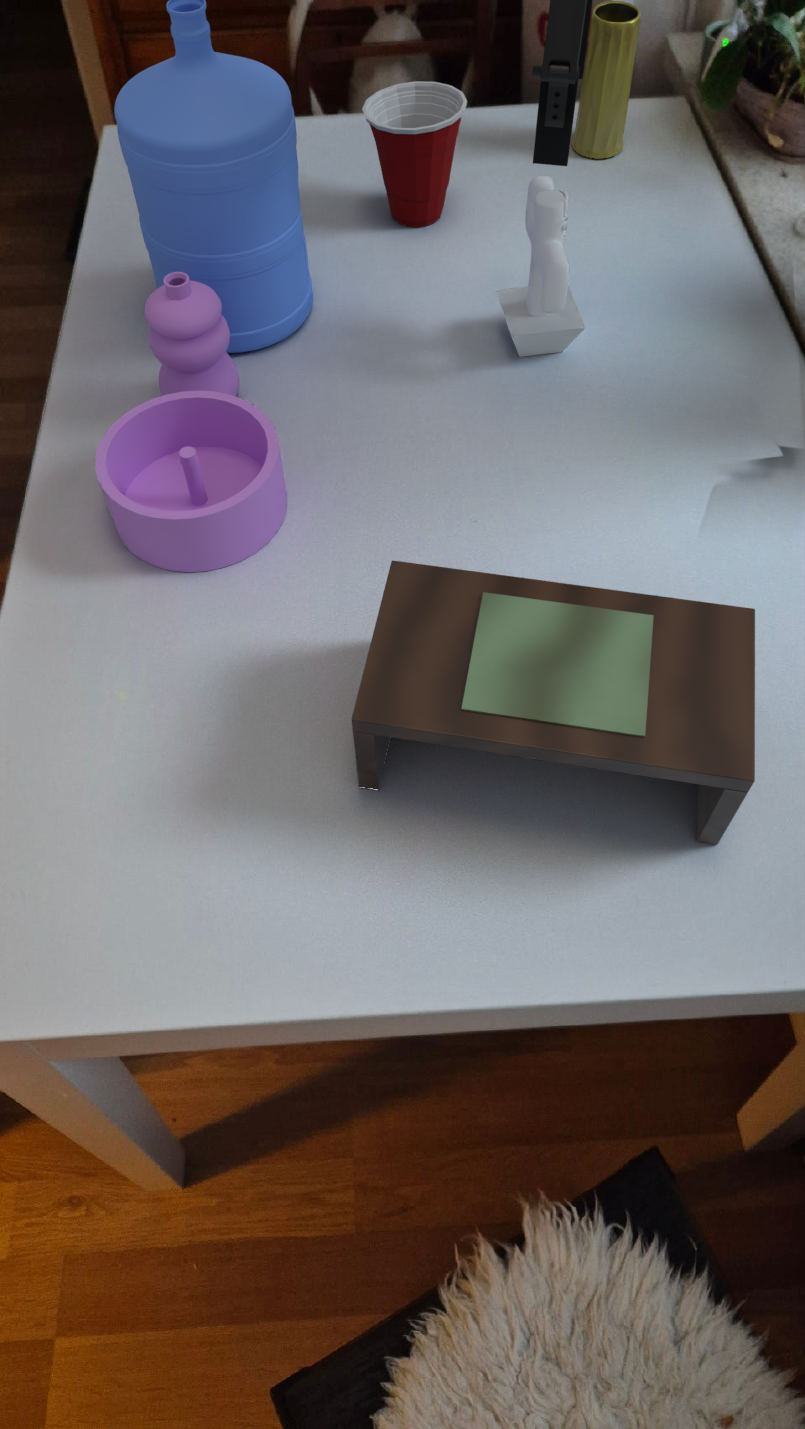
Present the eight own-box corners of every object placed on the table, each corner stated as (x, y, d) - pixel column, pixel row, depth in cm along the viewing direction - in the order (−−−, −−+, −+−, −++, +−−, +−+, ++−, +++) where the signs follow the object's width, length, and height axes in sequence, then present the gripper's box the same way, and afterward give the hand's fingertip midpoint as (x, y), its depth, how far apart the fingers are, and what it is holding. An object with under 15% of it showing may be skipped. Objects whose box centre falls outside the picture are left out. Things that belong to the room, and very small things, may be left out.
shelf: (721, 684, 79) (756, 606, 71) (717, 845, 71) (756, 779, 63) (394, 637, 82) (391, 558, 73) (358, 788, 74) (350, 718, 66)
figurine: (510, 375, 99) (523, 231, 86) (491, 315, 104) (501, 170, 91) (582, 367, 99) (606, 222, 86) (560, 307, 104) (579, 162, 91)
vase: (569, 158, 119) (586, 23, 107) (573, 130, 122) (590, -3, 110) (621, 162, 118) (644, 27, 106) (624, 134, 122) (646, 0, 110)
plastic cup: (415, 174, 118) (414, 63, 108) (483, 211, 113) (489, 99, 103) (347, 213, 114) (339, 101, 104) (414, 253, 109) (414, 141, 99)
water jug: (274, 372, 99) (228, 65, 76) (135, 336, 103) (49, 31, 79) (338, 281, 107) (314, -23, 83) (206, 250, 110) (148, -51, 87)
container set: (289, 564, 86) (269, 447, 75) (109, 578, 85) (62, 461, 74) (282, 372, 99) (265, 248, 88) (127, 382, 99) (89, 259, 88)
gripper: (559, -287, 72) (530, 41, 90) (517, -154, 59) (493, 198, 77) (665, -283, 71) (615, 47, 89) (646, -147, 58) (592, 207, 76)
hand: (558, 118), depth 83 cm, fingers open, 13 cm apart
